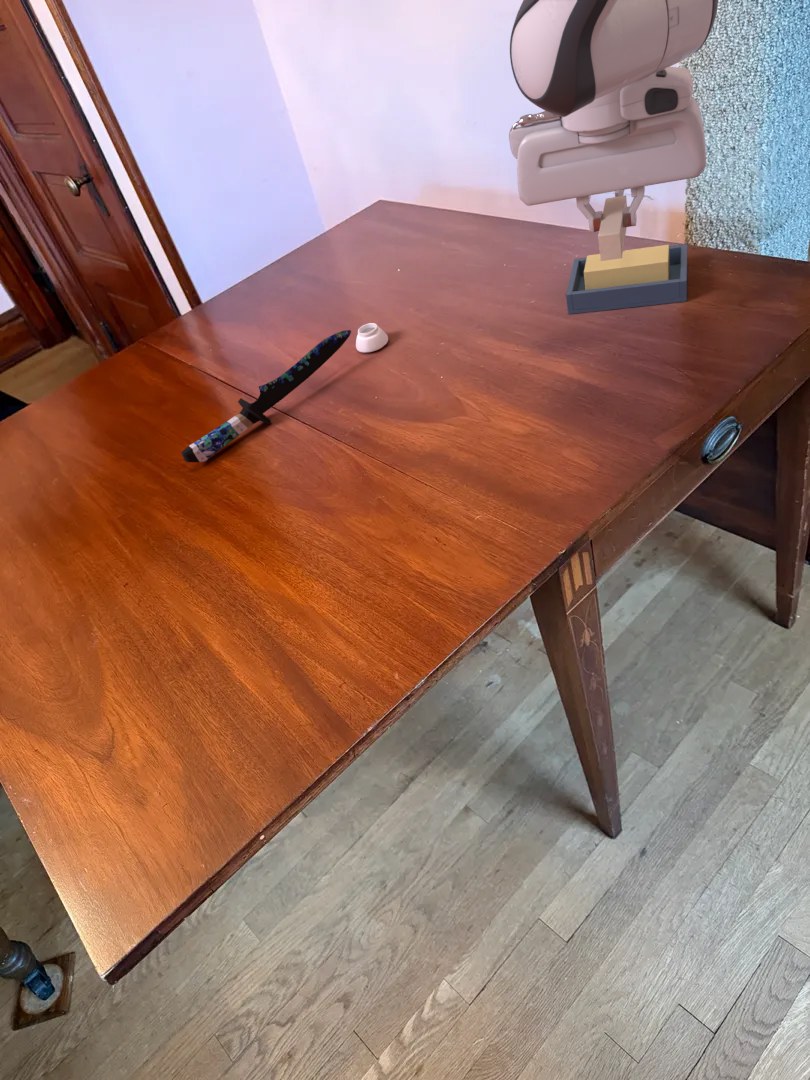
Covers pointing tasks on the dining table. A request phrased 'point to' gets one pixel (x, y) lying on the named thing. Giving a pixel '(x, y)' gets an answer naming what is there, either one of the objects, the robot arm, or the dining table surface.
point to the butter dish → (629, 288)
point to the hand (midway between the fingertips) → (613, 227)
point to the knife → (264, 400)
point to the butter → (628, 268)
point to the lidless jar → (370, 338)
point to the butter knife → (612, 228)
